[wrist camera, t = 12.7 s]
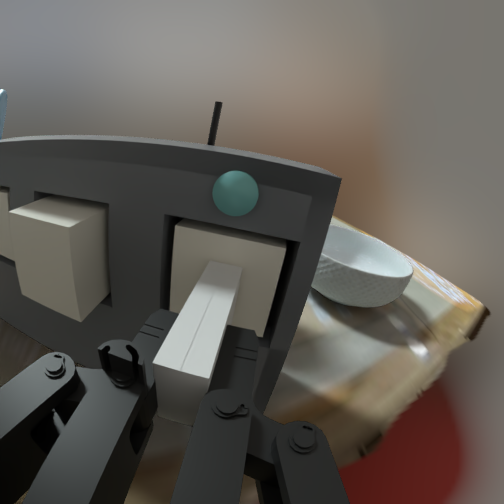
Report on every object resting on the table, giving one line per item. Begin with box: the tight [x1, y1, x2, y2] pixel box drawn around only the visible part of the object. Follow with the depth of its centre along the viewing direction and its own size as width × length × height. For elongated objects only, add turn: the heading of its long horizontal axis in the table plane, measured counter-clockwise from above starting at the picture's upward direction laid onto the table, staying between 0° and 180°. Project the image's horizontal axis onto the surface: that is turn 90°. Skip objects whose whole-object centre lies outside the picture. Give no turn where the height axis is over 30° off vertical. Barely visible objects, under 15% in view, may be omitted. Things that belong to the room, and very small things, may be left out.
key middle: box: [9, 194, 111, 322], centre depth 12 cm, size 4×5×5 cm
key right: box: [170, 218, 286, 337], centre depth 15 cm, size 4×5×5 cm
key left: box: [0, 186, 15, 261], centre depth 15 cm, size 4×5×5 cm
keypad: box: [0, 135, 342, 414], centre depth 16 cm, size 6×26×16 cm, turn 84°
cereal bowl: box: [311, 224, 413, 307], centre depth 35 cm, size 17×17×7 cm
